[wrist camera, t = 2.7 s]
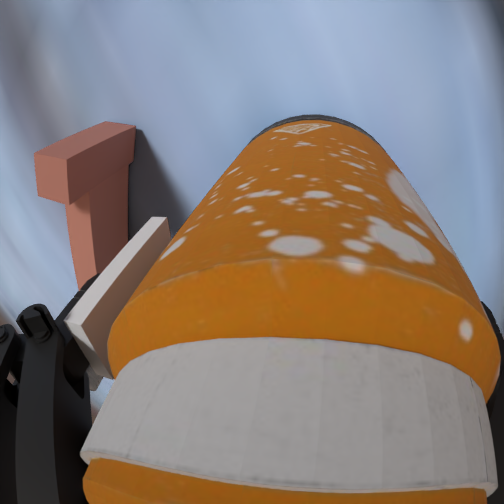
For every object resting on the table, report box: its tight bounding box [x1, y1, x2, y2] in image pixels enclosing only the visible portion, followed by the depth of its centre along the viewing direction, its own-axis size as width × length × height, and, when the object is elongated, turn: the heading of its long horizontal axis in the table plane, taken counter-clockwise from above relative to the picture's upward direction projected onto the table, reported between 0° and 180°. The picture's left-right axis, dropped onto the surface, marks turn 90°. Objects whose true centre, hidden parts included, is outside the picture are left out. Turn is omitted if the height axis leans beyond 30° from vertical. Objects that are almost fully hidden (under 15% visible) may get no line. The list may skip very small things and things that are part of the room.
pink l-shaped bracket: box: [34, 121, 136, 291], centre depth 17 cm, size 2×13×6 cm, turn 168°
